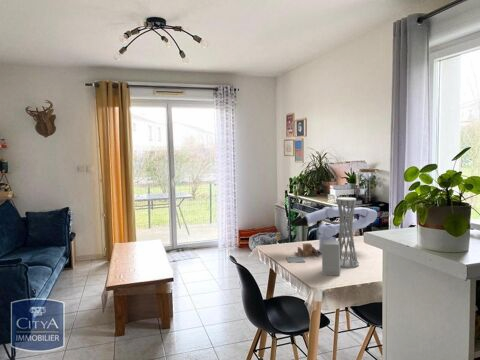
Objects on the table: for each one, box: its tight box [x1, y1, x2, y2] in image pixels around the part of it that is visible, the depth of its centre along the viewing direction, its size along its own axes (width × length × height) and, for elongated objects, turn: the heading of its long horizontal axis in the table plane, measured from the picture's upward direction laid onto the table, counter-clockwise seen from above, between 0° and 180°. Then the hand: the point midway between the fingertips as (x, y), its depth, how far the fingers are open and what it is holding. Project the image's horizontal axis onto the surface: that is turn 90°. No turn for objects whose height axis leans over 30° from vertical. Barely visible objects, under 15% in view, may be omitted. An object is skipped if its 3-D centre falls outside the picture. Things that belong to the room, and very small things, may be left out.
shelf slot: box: [297, 246, 319, 258], centre depth 205 cm, size 10×10×3 cm
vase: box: [336, 196, 360, 269], centre depth 185 cm, size 14×13×35 cm
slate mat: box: [285, 256, 306, 264], centre depth 195 cm, size 9×9×1 cm
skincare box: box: [321, 240, 341, 277], centre depth 172 cm, size 8×7×16 cm
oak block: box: [302, 242, 313, 257], centre depth 205 cm, size 4×4×6 cm
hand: (292, 224), depth 207 cm, fingers open, 7 cm apart
